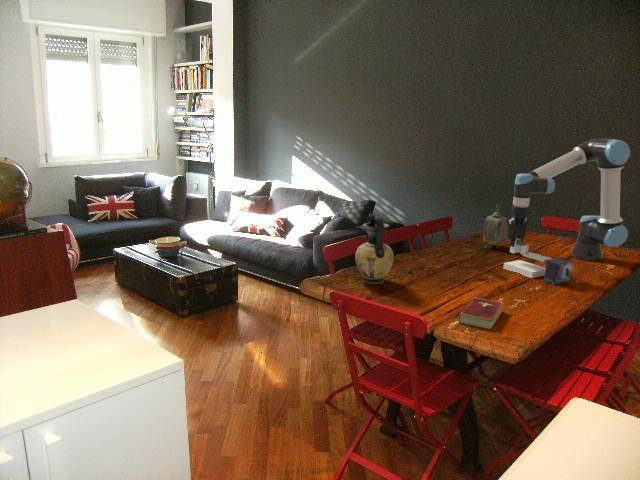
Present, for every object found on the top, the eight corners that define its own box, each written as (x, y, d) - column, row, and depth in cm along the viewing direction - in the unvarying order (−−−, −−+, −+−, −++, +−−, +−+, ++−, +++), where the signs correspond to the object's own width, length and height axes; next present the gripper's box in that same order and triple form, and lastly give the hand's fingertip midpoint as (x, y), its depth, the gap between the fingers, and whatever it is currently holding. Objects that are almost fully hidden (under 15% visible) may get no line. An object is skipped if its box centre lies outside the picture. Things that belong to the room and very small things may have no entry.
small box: (554, 285, 242) (557, 263, 240) (542, 281, 248) (545, 259, 245) (570, 282, 247) (573, 261, 244) (558, 278, 253) (561, 257, 250)
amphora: (347, 276, 245) (350, 212, 237) (379, 273, 251) (383, 210, 244) (365, 289, 229) (369, 220, 222) (399, 285, 236) (404, 218, 228)
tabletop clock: (490, 243, 313) (495, 201, 307) (505, 246, 308) (510, 203, 302) (481, 248, 302) (486, 205, 296) (497, 251, 297) (502, 207, 291)
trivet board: (503, 268, 265) (503, 262, 264) (519, 265, 271) (519, 259, 271) (531, 278, 252) (532, 272, 251) (547, 274, 258) (548, 268, 257)
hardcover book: (457, 323, 197) (459, 312, 196) (472, 306, 215) (473, 296, 214) (491, 330, 192) (492, 319, 190) (503, 312, 209) (504, 302, 208)
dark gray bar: (502, 249, 268) (503, 238, 266) (510, 248, 271) (511, 236, 270) (544, 262, 248) (545, 249, 247) (552, 260, 251) (554, 248, 250)
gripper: (524, 203, 267) (518, 248, 273) (503, 205, 259) (498, 252, 265) (537, 206, 261) (531, 252, 266) (516, 208, 253) (510, 256, 258)
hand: (514, 252), depth 265 cm, fingers closed on dark gray bar, 2 cm apart
